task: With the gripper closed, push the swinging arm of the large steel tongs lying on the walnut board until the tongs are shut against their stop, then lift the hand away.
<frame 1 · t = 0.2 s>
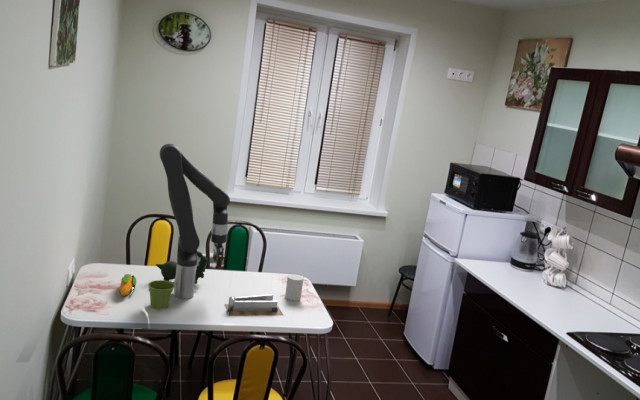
hand: (217, 264, 265), 18 cm above the table, tool pointing down, fingers open, 8 cm apart
corn: (126, 293, 260), on the table
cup: (292, 299, 281), on the table
tongs swing arm: (253, 301, 262), point 4 cm above the table, hinge at 12.0°
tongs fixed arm: (231, 309, 255), resting on walnut board
toy figurine: (179, 283, 281), on the table
walnut board: (253, 311, 259), on the table
plant pot: (159, 308, 248), on the table
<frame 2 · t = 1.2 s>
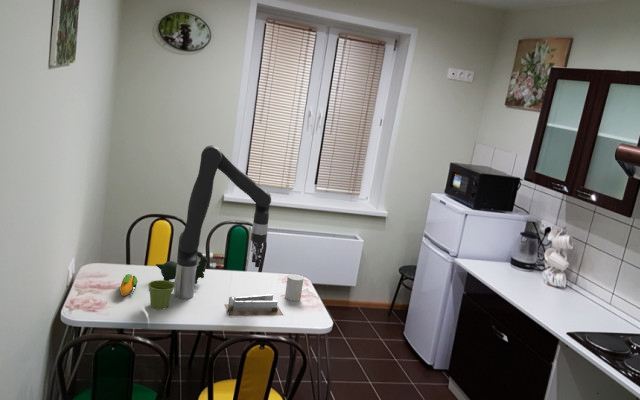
hand: (255, 264, 266), 20 cm above the table, tool pointing down, fingers open, 6 cm apart
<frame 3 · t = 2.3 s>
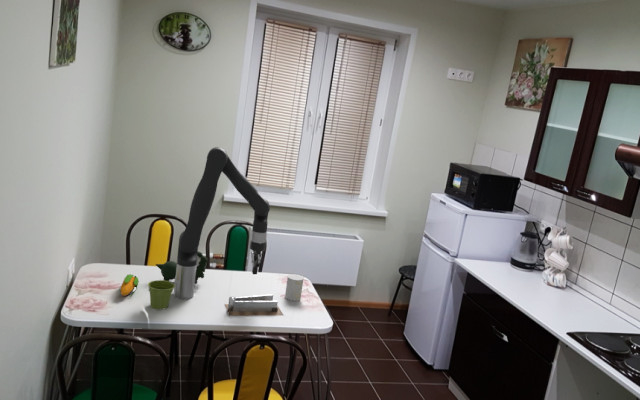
hand: (254, 273, 267), 15 cm above the table, tool pointing down, fingers closed
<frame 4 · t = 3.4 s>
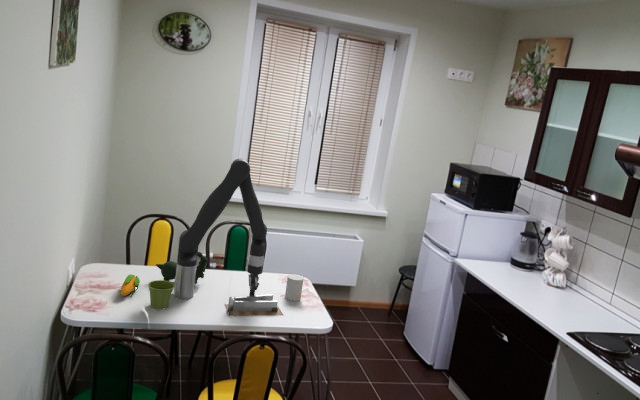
hand: (251, 296, 269), 3 cm above the table, tool pointing down, fingers closed
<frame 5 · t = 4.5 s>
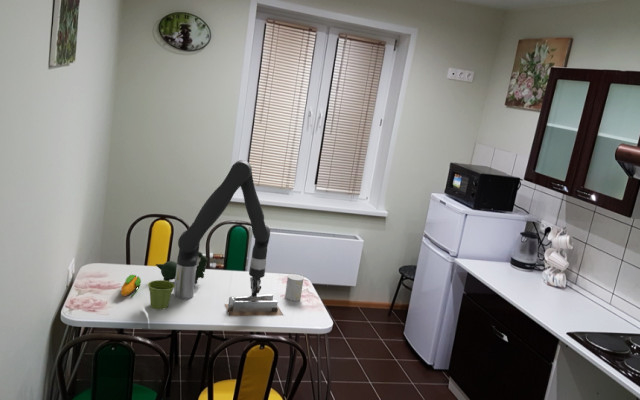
hand: (253, 299, 266), 3 cm above the table, tool pointing down, fingers closed
tongs swing arm: (253, 301, 262), point 4 cm above the table, hinge at 11.7°, touching gripper
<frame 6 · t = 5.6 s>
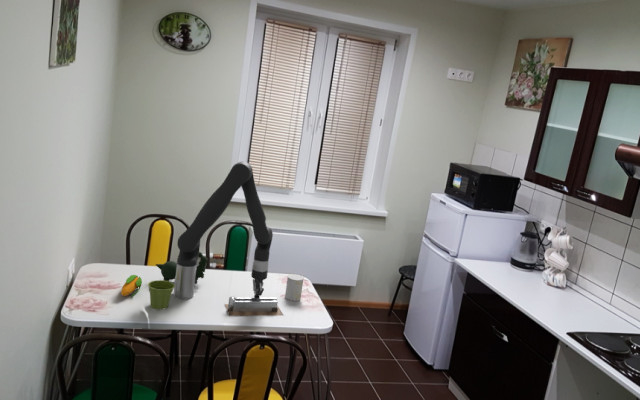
hand: (256, 301, 263), 3 cm above the table, tool pointing down, fingers closed
tongs swing arm: (255, 303, 260), point 4 cm above the table, hinge at -0.3°, touching gripper
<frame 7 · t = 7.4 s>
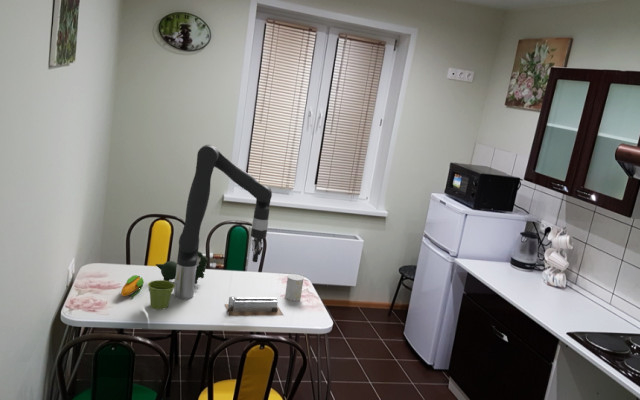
hand: (254, 261, 263), 22 cm above the table, tool pointing down, fingers closed
tongs swing arm: (255, 303, 260), point 4 cm above the table, hinge at -0.3°
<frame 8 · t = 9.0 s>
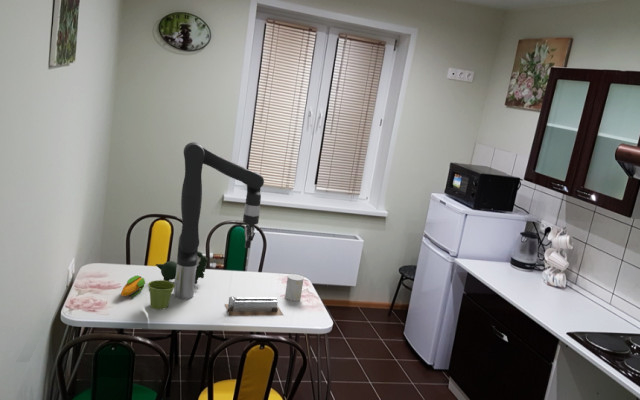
hand: (247, 247, 266), 27 cm above the table, tool pointing down, fingers closed
at the end: tongs swing arm at +0° (first picture: +12°); the gripper is holding nothing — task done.
